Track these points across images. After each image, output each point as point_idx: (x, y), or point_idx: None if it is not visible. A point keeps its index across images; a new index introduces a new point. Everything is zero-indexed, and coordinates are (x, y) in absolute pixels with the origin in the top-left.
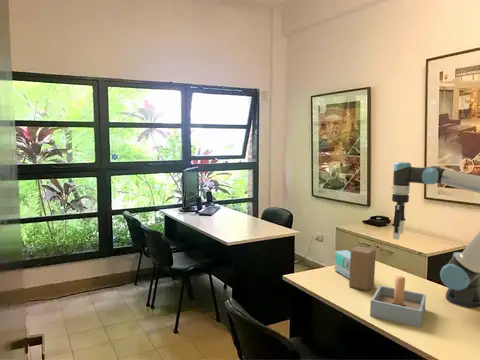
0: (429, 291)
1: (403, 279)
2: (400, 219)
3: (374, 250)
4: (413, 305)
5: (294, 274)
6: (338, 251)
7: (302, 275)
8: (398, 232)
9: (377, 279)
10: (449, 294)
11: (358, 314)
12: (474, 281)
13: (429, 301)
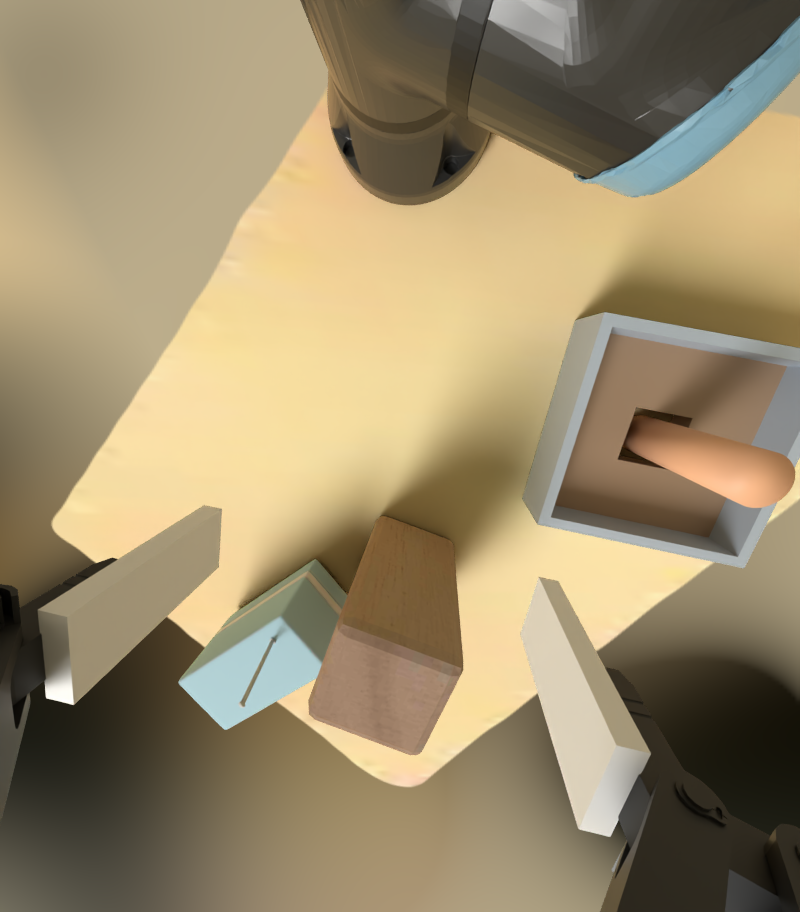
0: (347, 277)
1: (789, 461)
2: (20, 685)
3: (364, 630)
4: (632, 374)
5: (373, 769)
6: (224, 719)
7: (371, 746)
8: (591, 660)
9: (292, 496)
10: (435, 178)
11: (691, 571)
12: None
13: (475, 290)
